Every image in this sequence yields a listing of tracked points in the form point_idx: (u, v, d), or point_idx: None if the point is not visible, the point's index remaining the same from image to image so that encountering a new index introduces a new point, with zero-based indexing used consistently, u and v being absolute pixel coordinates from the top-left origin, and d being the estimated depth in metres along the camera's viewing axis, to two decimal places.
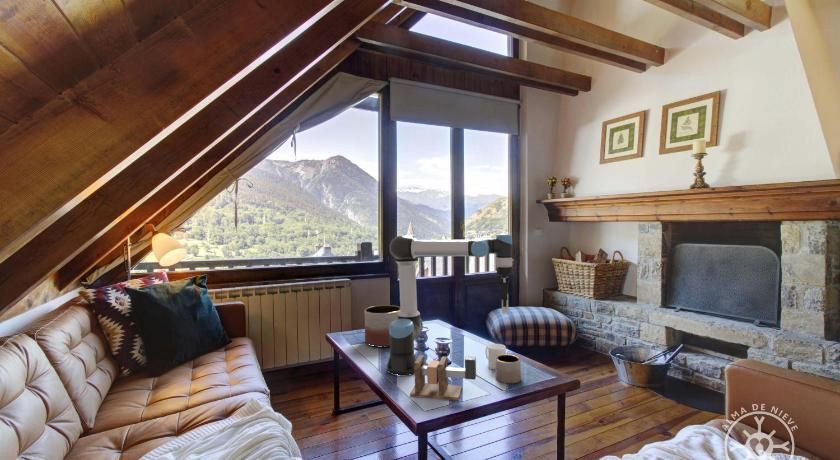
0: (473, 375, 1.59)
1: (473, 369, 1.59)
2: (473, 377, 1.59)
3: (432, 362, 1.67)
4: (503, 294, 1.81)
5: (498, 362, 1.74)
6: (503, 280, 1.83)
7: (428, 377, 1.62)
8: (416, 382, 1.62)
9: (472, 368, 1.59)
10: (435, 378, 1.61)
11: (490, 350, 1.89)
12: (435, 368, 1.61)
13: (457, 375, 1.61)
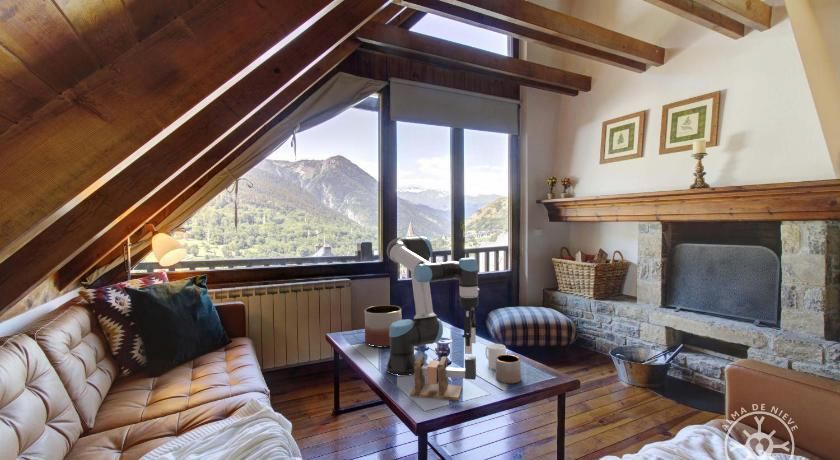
0: (473, 375, 1.59)
1: (473, 369, 1.59)
2: (473, 377, 1.59)
3: (432, 362, 1.67)
4: (465, 331, 1.51)
5: (498, 362, 1.74)
6: (466, 314, 1.54)
7: (428, 377, 1.62)
8: (416, 382, 1.62)
9: (472, 368, 1.59)
10: (435, 378, 1.61)
11: (490, 350, 1.89)
12: (435, 368, 1.61)
13: (457, 375, 1.61)
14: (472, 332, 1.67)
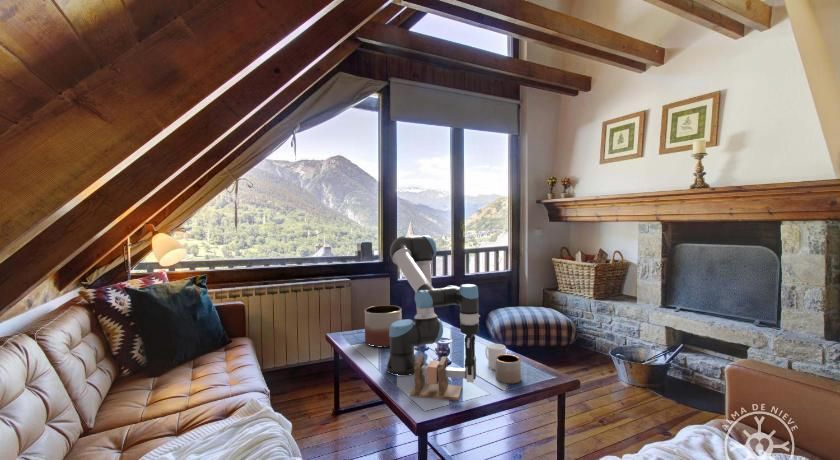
0: (473, 375, 1.59)
1: (473, 369, 1.59)
2: None
3: (432, 362, 1.67)
4: (467, 362, 1.55)
5: (498, 362, 1.74)
6: (467, 346, 1.55)
7: (428, 377, 1.62)
8: (416, 382, 1.62)
9: None
10: (435, 378, 1.61)
11: (490, 350, 1.89)
12: (435, 368, 1.61)
13: (457, 375, 1.61)
14: None
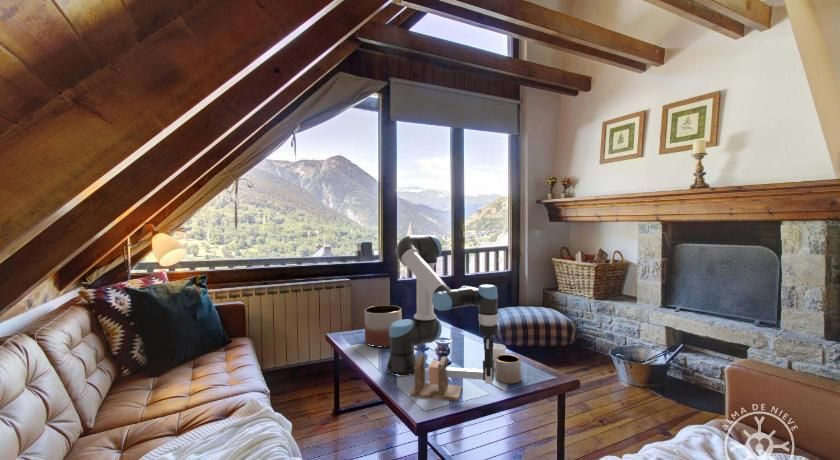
0: None
1: None
2: None
3: (434, 362, 1.66)
4: (486, 363, 1.54)
5: (498, 362, 1.74)
6: (486, 347, 1.53)
7: (430, 377, 1.62)
8: (416, 382, 1.62)
9: None
10: (437, 378, 1.61)
11: None
12: (437, 368, 1.61)
13: (475, 376, 1.59)
14: None
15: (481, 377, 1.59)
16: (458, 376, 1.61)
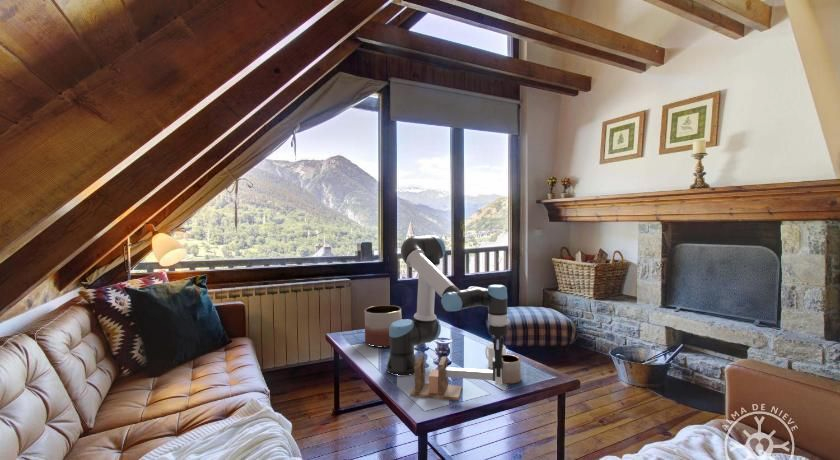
0: None
1: None
2: None
3: (434, 371, 1.67)
4: (496, 364, 1.53)
5: None
6: (496, 348, 1.52)
7: (429, 386, 1.62)
8: (416, 382, 1.62)
9: None
10: (437, 387, 1.61)
11: (490, 350, 1.89)
12: (437, 377, 1.61)
13: (484, 377, 1.58)
14: None
15: (491, 378, 1.58)
16: (467, 377, 1.60)
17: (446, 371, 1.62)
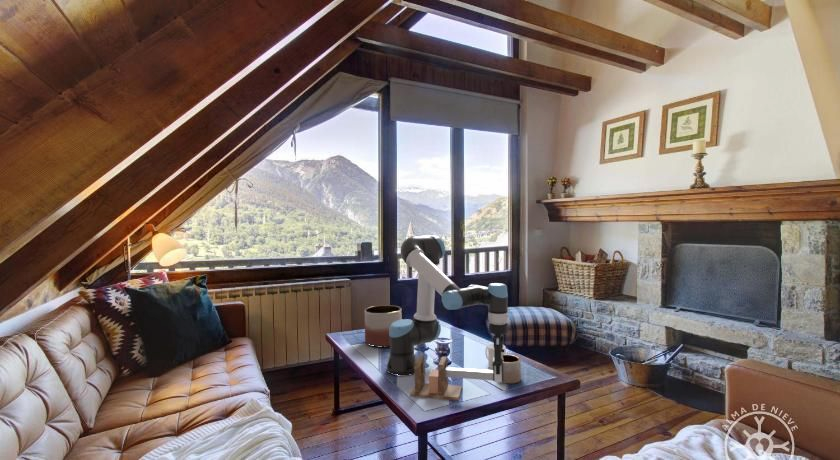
0: None
1: None
2: None
3: (434, 371, 1.67)
4: (496, 360, 1.49)
5: None
6: (496, 342, 1.51)
7: (429, 386, 1.62)
8: (416, 382, 1.62)
9: None
10: (437, 387, 1.61)
11: (490, 350, 1.89)
12: (437, 377, 1.61)
13: (484, 377, 1.58)
14: None
15: (491, 378, 1.58)
16: (468, 377, 1.60)
17: (446, 371, 1.62)
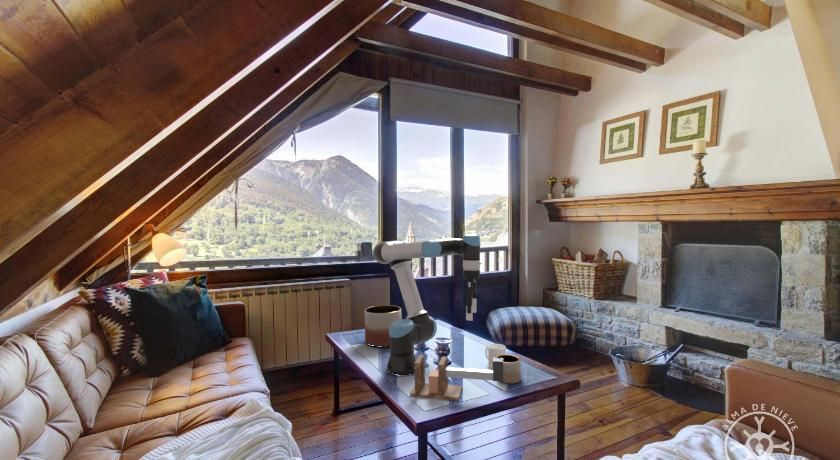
0: (501, 377, 1.56)
1: (501, 371, 1.56)
2: (501, 379, 1.56)
3: (434, 371, 1.67)
4: (467, 300, 1.68)
5: None
6: (468, 285, 1.70)
7: (429, 386, 1.62)
8: (416, 382, 1.62)
9: (500, 370, 1.56)
10: (437, 387, 1.61)
11: (490, 350, 1.89)
12: (437, 377, 1.61)
13: (484, 377, 1.58)
14: (473, 302, 1.83)
15: (491, 378, 1.58)
16: (468, 377, 1.60)
17: (446, 371, 1.62)
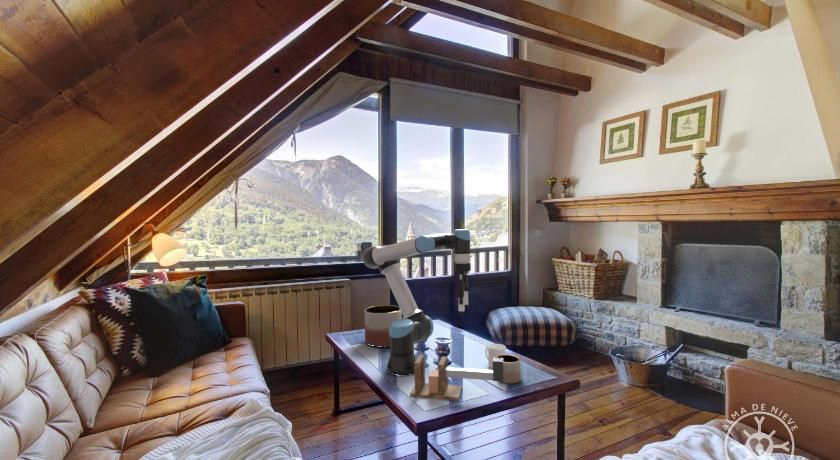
0: (501, 377, 1.56)
1: (501, 371, 1.56)
2: (501, 379, 1.56)
3: (434, 371, 1.67)
4: (459, 291, 1.75)
5: None
6: (459, 277, 1.77)
7: (429, 386, 1.62)
8: (416, 382, 1.62)
9: (500, 370, 1.56)
10: (437, 387, 1.61)
11: (490, 350, 1.89)
12: (437, 377, 1.61)
13: (484, 377, 1.58)
14: (465, 295, 1.90)
15: (491, 378, 1.58)
16: (468, 377, 1.60)
17: (446, 371, 1.62)
